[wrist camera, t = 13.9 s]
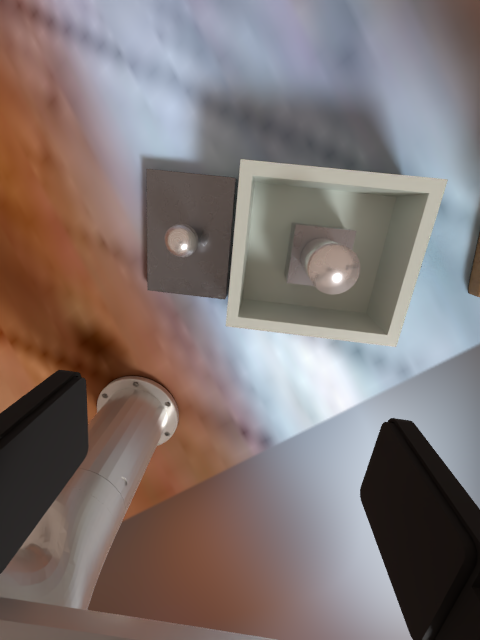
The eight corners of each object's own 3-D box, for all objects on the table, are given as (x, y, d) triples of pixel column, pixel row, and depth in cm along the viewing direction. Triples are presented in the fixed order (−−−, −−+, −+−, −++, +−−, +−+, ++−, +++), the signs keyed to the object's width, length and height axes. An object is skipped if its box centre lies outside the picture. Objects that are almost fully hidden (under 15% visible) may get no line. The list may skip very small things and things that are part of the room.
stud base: (226, 296, 39) (219, 311, 34) (151, 287, 40) (131, 300, 34) (236, 179, 35) (230, 172, 29) (151, 170, 35) (128, 162, 29)
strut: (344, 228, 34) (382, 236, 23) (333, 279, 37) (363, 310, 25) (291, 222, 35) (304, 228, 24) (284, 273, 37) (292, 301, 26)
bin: (371, 320, 39) (396, 346, 32) (233, 304, 40) (225, 326, 32) (407, 186, 33) (447, 179, 26) (246, 170, 34) (240, 159, 27)
